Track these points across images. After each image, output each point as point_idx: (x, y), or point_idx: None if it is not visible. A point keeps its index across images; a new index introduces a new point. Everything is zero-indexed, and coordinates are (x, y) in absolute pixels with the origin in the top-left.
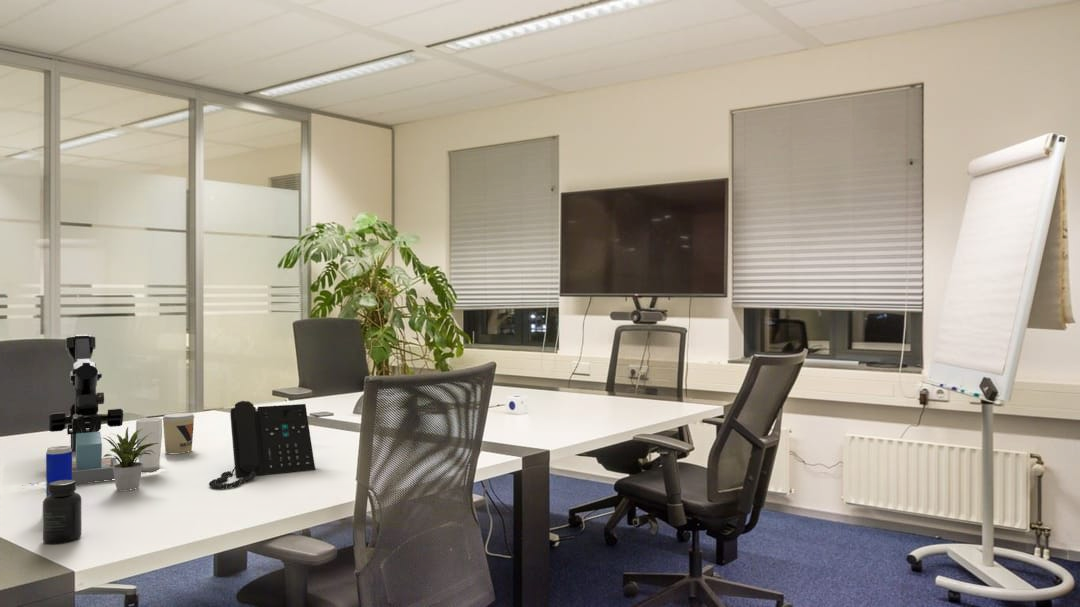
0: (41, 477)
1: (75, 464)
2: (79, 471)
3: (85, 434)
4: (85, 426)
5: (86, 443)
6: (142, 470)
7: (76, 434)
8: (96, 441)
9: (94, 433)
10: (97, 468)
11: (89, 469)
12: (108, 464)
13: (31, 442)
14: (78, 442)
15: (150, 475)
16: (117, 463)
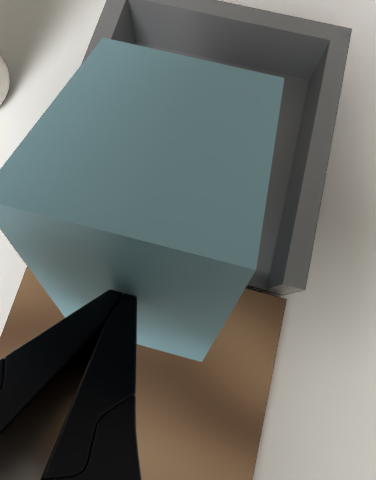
0: (367, 325)
1: (189, 402)
2: (281, 16)
3: (161, 203)
4: (44, 473)
5: (209, 74)
6: (4, 63)
7: (254, 248)
8: (126, 65)
9: (61, 186)
10: (200, 13)
11: (235, 17)
12: None
13: None
14: (266, 106)
15: (13, 14)
16: (87, 51)
